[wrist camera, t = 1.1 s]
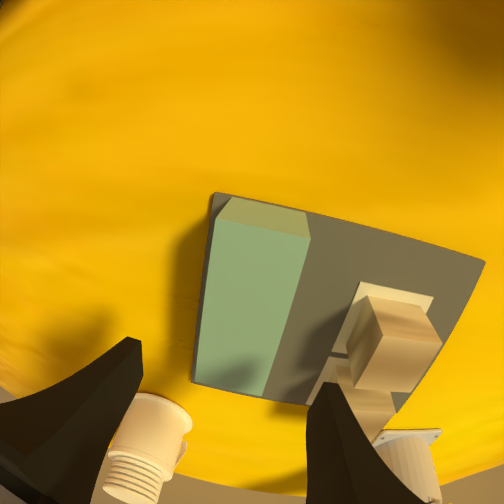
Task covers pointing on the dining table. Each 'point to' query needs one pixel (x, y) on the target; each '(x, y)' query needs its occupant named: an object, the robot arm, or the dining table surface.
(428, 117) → the dining table surface
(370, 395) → the wooden cube
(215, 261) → the lintel
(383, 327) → the pillar
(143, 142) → the dining table surface
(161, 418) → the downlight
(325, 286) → the mat
